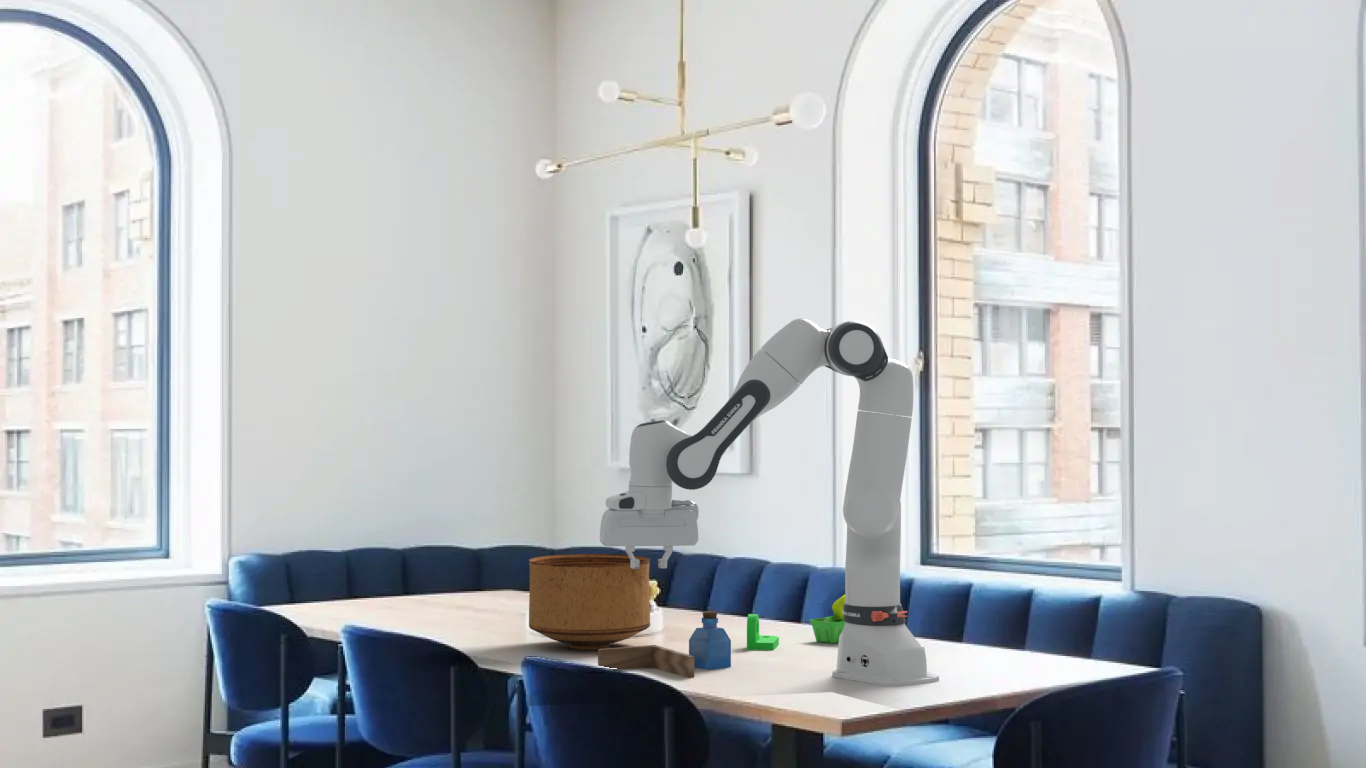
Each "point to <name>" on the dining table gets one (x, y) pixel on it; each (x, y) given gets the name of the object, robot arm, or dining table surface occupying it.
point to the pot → (588, 598)
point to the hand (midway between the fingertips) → (648, 568)
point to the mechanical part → (759, 636)
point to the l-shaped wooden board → (647, 659)
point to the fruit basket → (830, 624)
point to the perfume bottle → (710, 644)
